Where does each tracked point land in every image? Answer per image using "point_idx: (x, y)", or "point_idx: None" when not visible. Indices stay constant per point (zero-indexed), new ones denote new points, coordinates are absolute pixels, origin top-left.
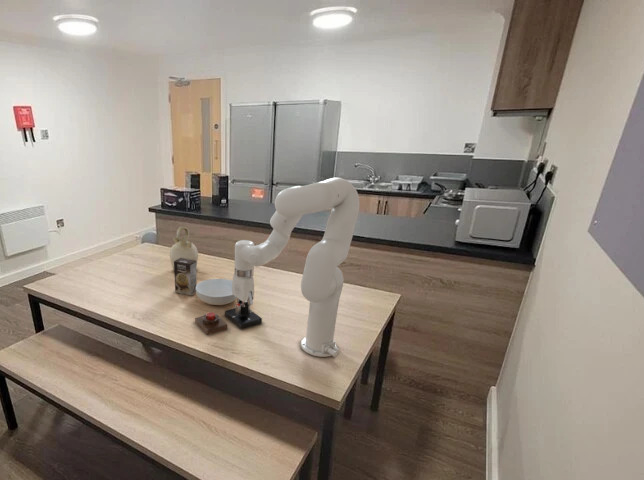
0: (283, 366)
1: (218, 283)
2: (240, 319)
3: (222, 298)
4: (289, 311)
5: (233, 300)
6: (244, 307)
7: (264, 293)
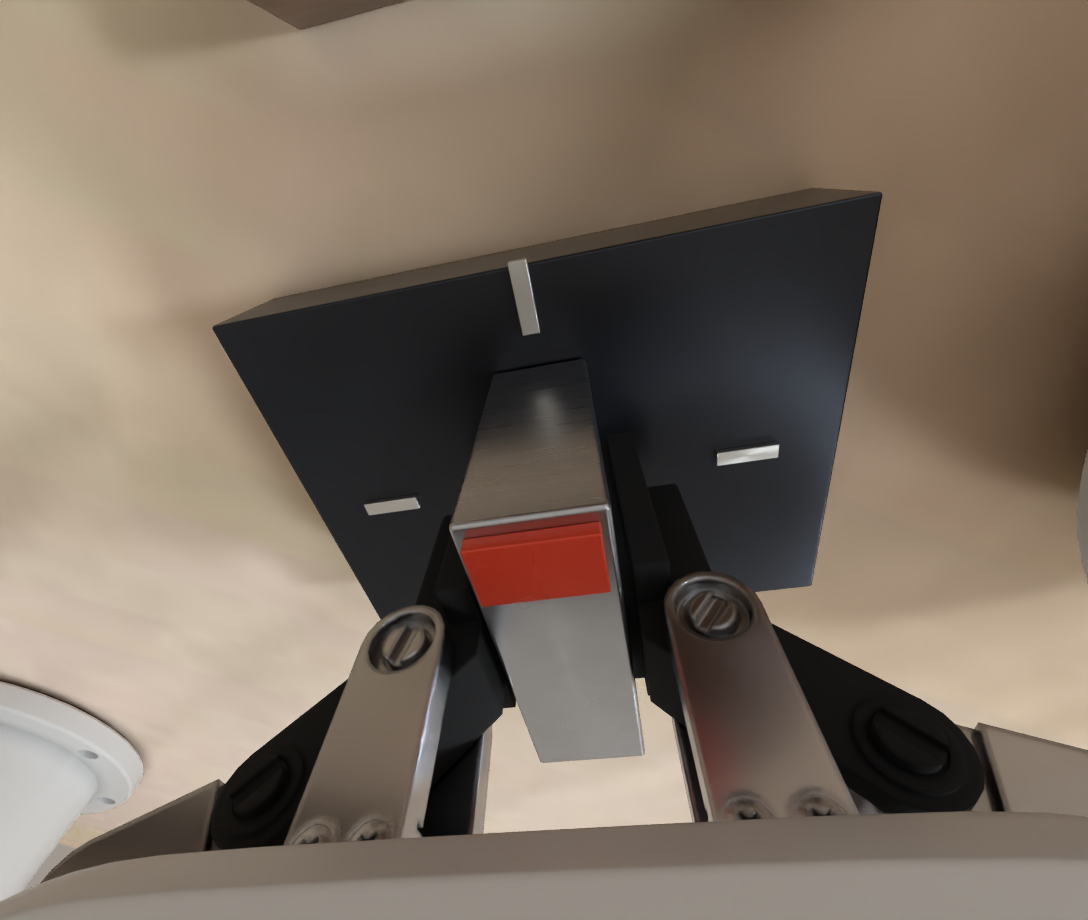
0: None
1: None
2: (395, 382)
3: None
4: (561, 778)
5: (1081, 515)
6: (420, 617)
7: None
